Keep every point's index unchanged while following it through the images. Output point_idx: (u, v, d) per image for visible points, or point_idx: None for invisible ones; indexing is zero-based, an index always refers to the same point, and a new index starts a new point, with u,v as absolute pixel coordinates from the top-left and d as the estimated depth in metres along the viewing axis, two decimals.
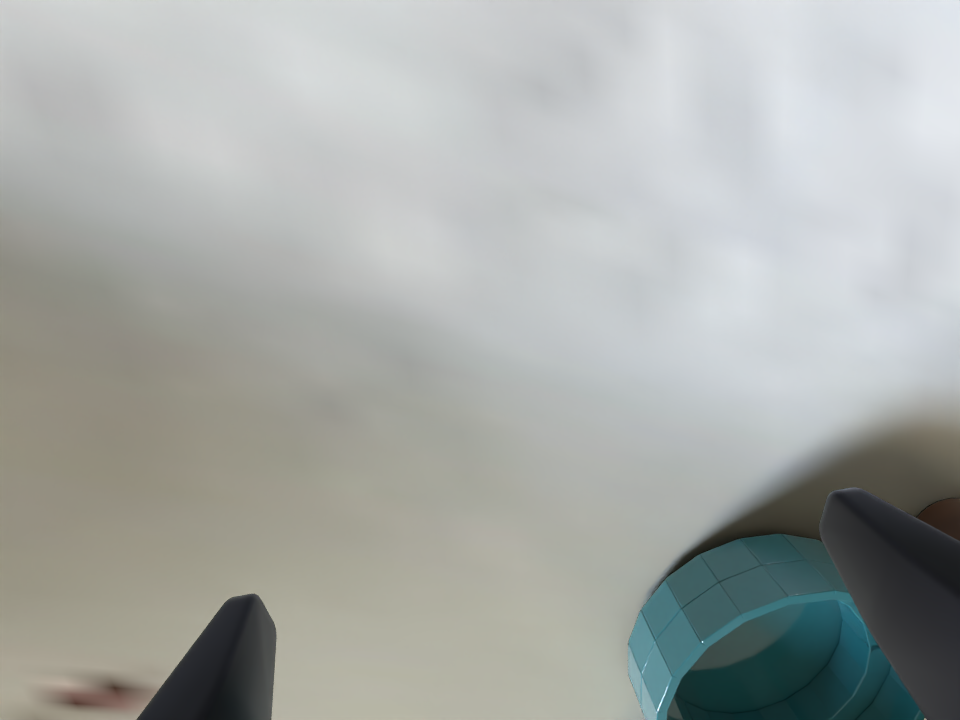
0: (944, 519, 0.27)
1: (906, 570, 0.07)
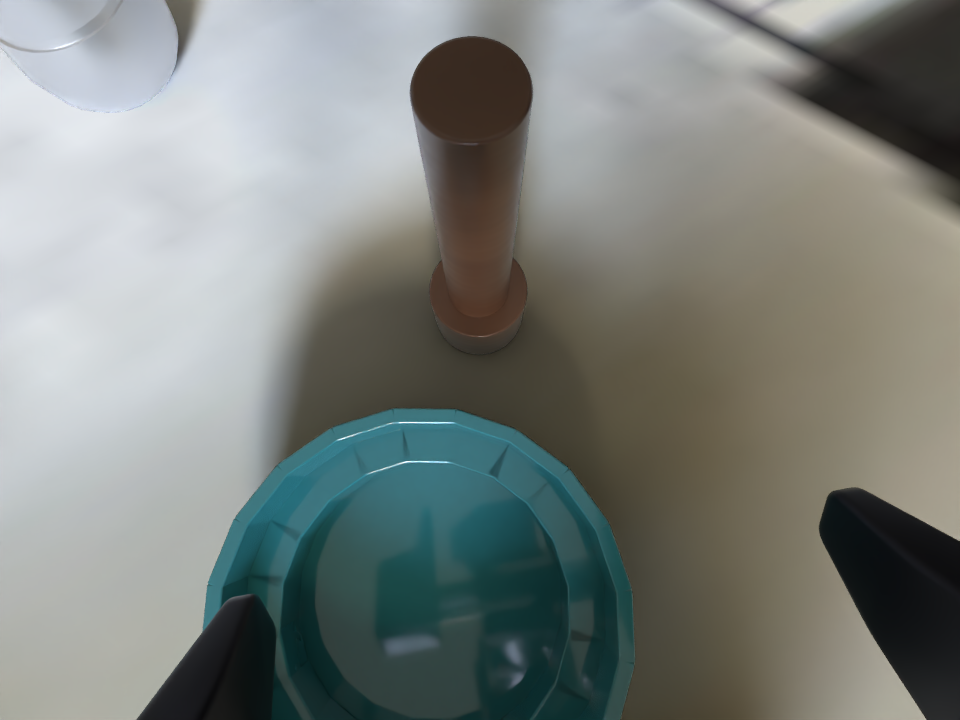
0: None
1: (906, 570, 0.07)
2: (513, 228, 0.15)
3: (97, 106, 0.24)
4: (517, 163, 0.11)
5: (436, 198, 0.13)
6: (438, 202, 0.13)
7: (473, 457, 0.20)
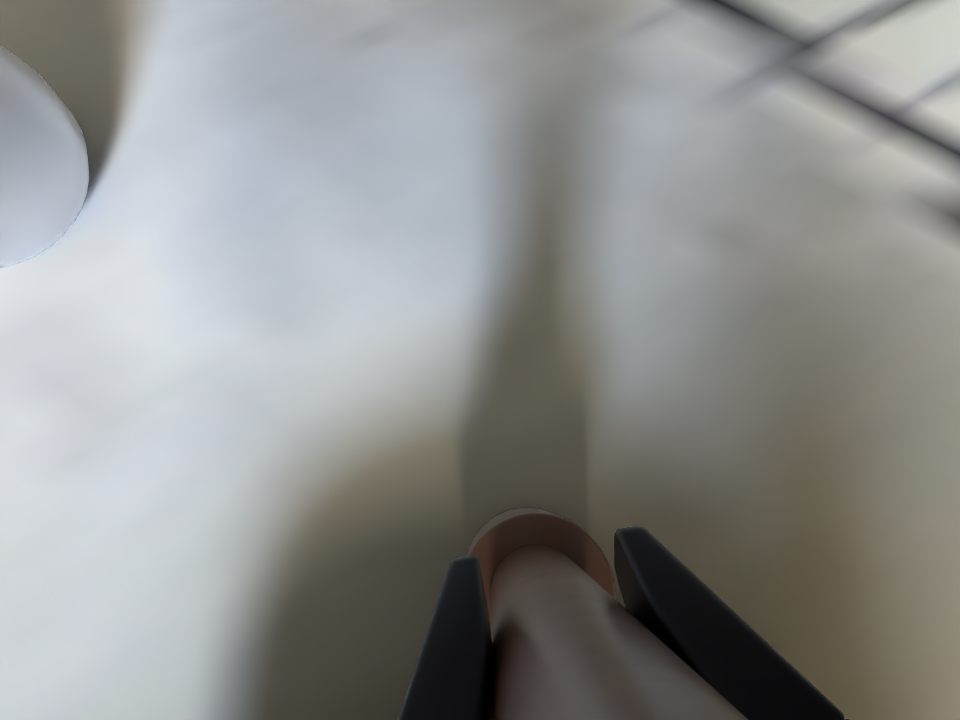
0: None
1: (652, 616, 0.07)
2: None
3: None
4: None
5: None
6: None
7: None
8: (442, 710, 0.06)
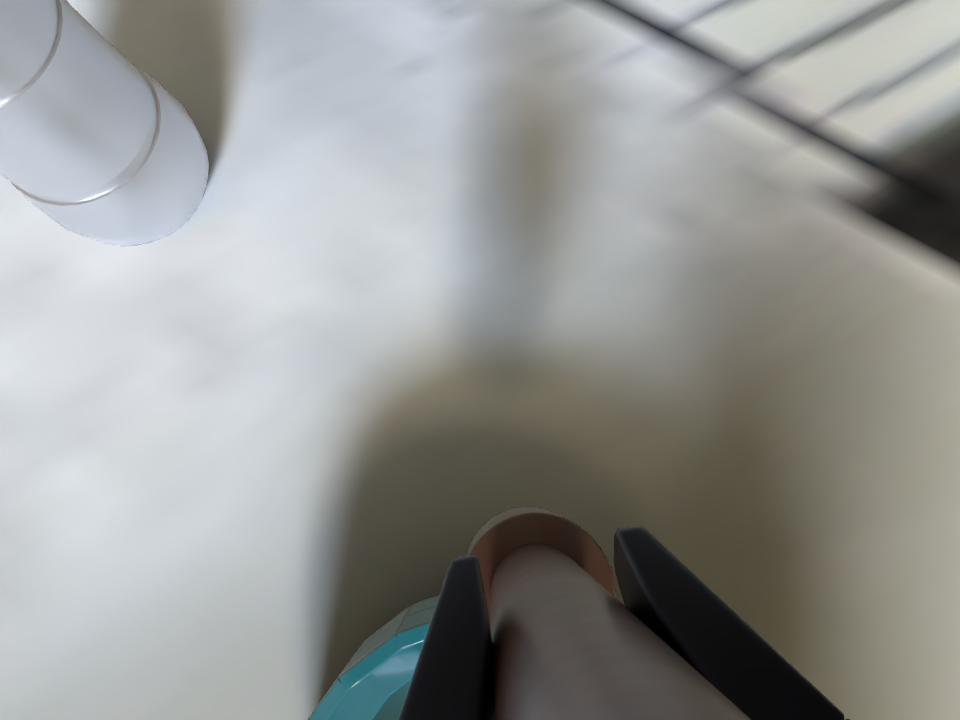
0: None
1: (652, 616, 0.07)
2: None
3: (125, 243, 0.22)
4: None
5: None
6: None
7: None
8: (442, 710, 0.06)
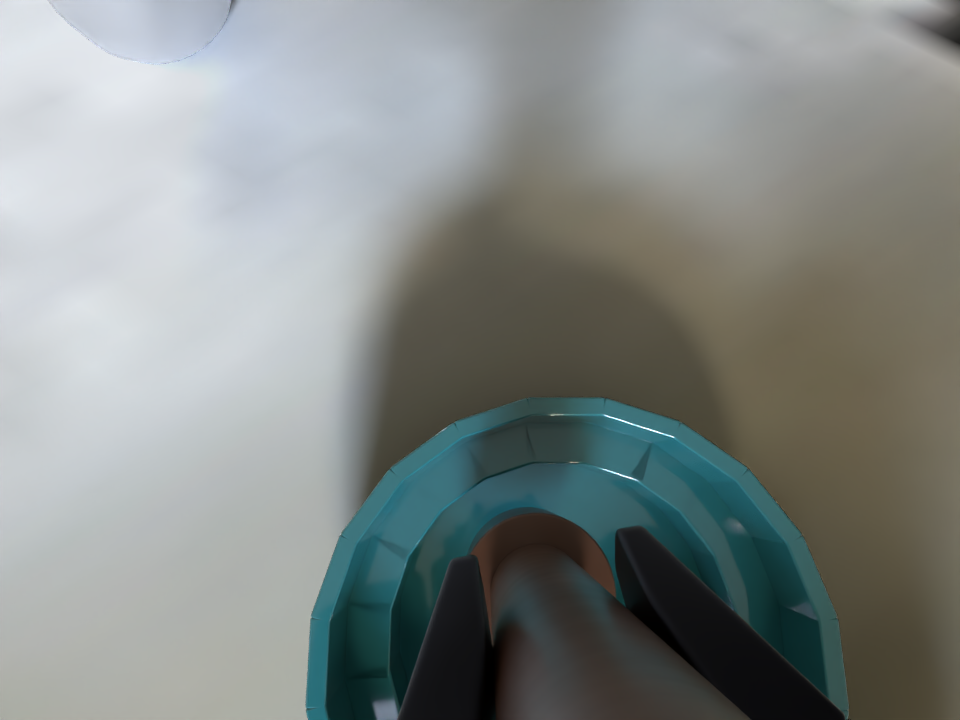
0: None
1: (653, 616, 0.07)
2: None
3: (144, 53, 0.21)
4: None
5: None
6: None
7: (612, 456, 0.17)
8: (441, 710, 0.06)
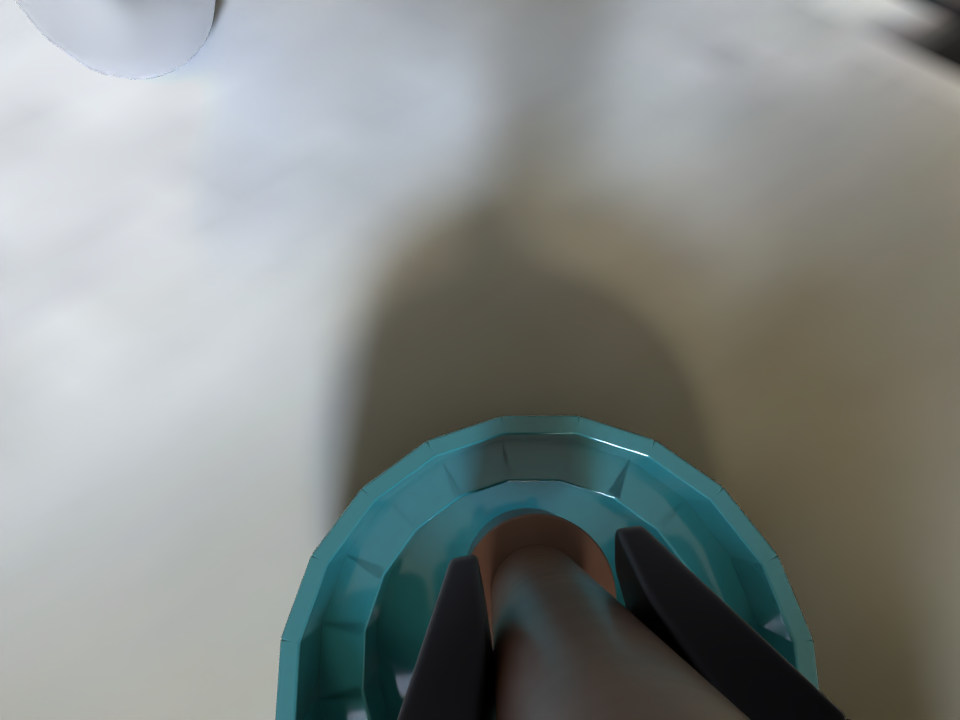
0: None
1: (653, 616, 0.07)
2: None
3: (125, 69, 0.21)
4: None
5: None
6: None
7: (589, 474, 0.17)
8: (441, 710, 0.06)
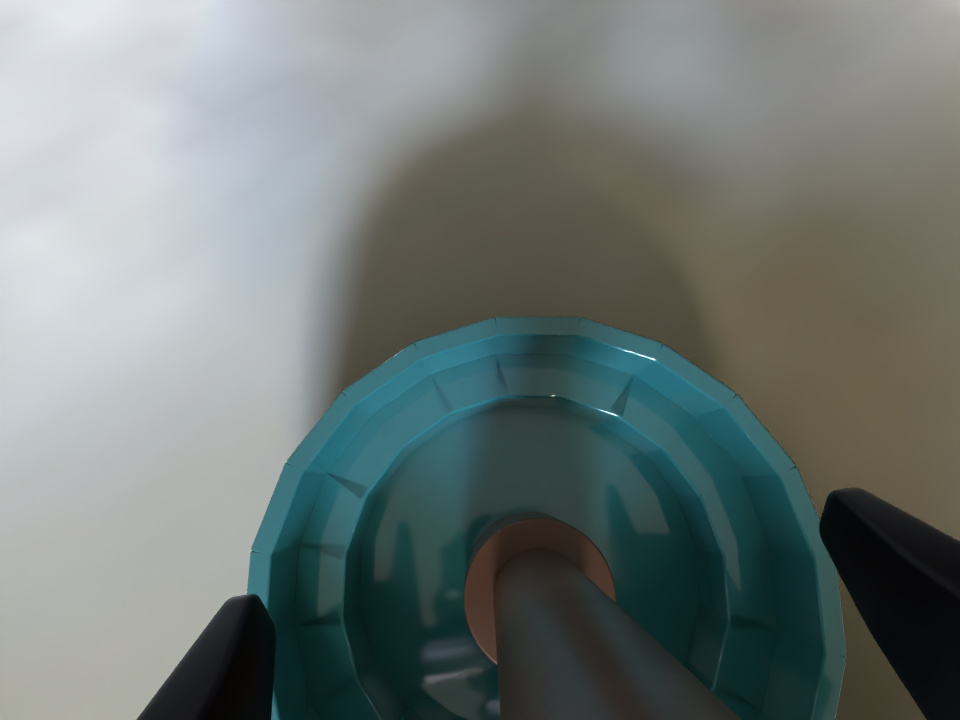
0: None
1: (906, 570, 0.07)
2: None
3: None
4: None
5: None
6: None
7: (590, 390, 0.15)
8: None
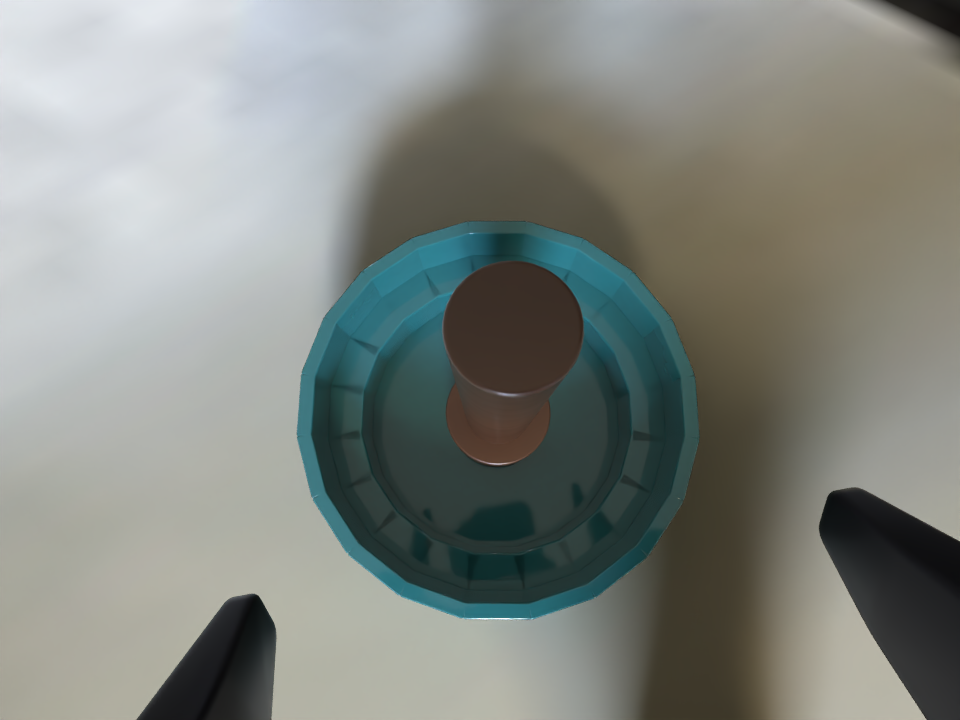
0: None
1: (906, 570, 0.07)
2: None
3: None
4: None
5: (465, 397, 0.11)
6: (467, 400, 0.11)
7: None
8: None
